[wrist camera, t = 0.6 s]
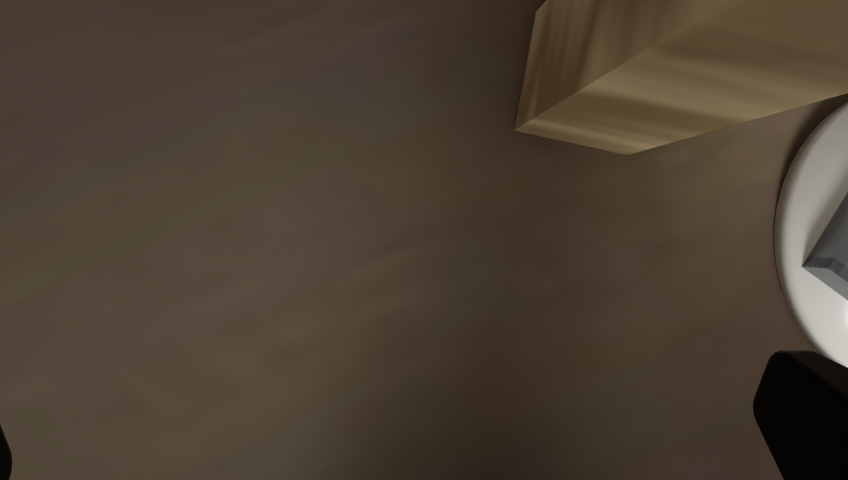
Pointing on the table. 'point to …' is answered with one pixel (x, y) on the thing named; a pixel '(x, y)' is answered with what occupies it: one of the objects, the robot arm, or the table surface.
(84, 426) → the table surface
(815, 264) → the grey square frame
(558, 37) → the wooden block
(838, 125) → the round white plate
